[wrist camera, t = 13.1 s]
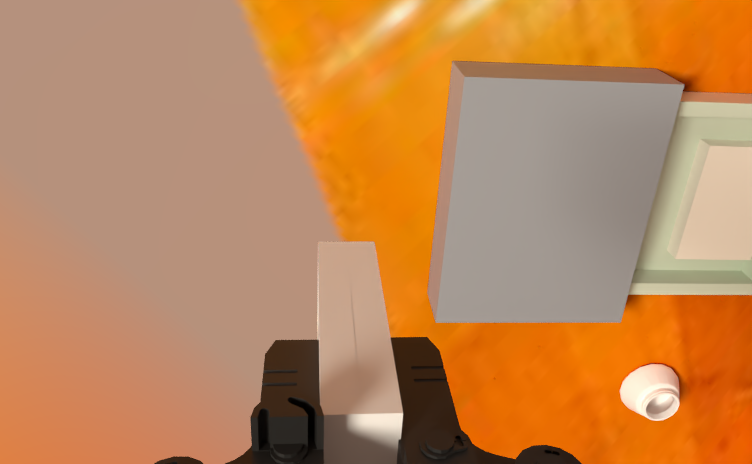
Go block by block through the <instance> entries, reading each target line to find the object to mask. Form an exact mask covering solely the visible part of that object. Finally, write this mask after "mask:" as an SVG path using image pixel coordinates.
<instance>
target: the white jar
mask: <svg viewBox="0 0 752 464" xmlns="http://www.w3.org/2000/svg"><path fill="white" fill-rule="evenodd" d="M620 396H621V400H622V401H623V403H624V404H625V405H626V406H627V407H628V408H629V409H631V410H633V411H635V412H636V413H638V414H640V415H643V416H645V417H647V418H648V419H650V420H655V421H659V420H664V419H667V418H669V417H670V416H672V415H673V414H674V413H675V412H676V411H677V409H678V407H679V379H678V376H677V375H676V374H675V372H674V371H673V370H672V369H671V368H670V367H667V366H665V365H663V364H650V365H646V366H642V367H640V368H638V369H636V370H635V371H633V372H631V373H630V374H629V375H628V376H627V377H626V379H625V380H624V381H623V383H622V386H621V388H620Z"/></svg>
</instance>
